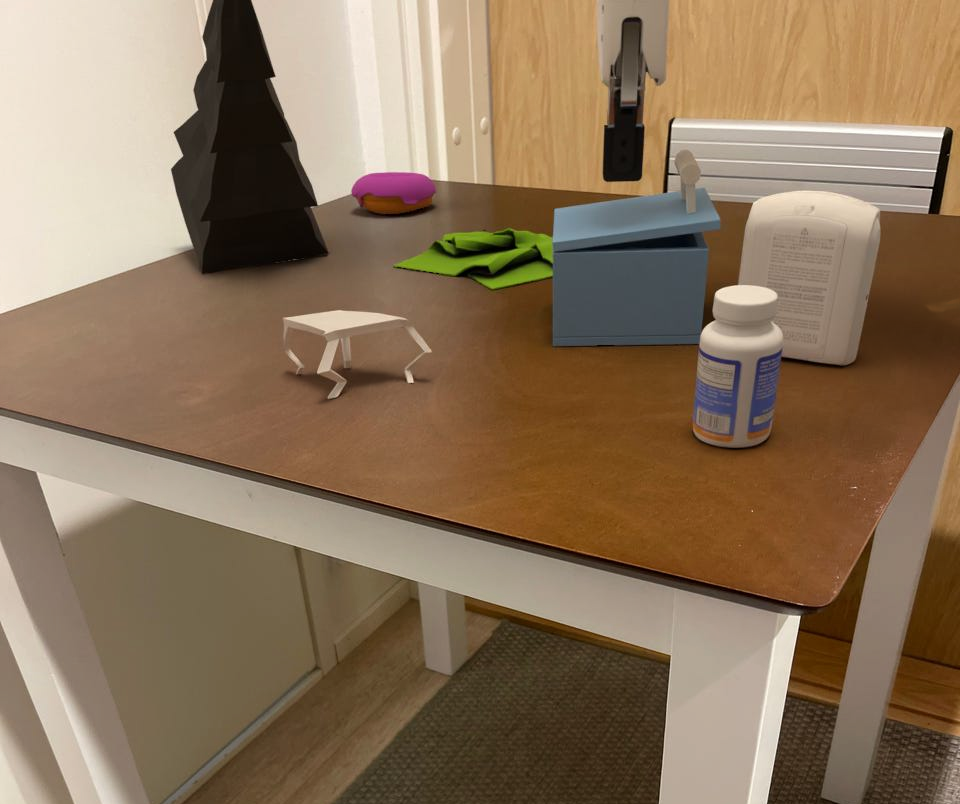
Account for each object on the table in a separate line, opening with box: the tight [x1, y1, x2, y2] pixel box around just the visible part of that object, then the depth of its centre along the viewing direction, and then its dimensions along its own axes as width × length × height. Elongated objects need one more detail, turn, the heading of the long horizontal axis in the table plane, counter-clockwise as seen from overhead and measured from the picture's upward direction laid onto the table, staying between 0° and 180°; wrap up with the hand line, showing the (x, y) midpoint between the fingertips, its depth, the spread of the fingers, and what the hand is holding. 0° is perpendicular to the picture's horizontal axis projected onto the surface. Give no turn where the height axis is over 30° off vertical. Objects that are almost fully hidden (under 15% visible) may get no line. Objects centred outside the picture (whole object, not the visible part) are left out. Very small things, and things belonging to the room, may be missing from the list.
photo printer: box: [737, 190, 882, 367], centre depth 76 cm, size 10×4×12 cm, turn 60°
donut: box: [350, 171, 437, 215], centre depth 127 cm, size 10×10×5 cm
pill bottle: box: [692, 284, 783, 449], centre depth 65 cm, size 5×5×10 cm
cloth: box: [392, 227, 553, 291], centre depth 106 cm, size 20×22×2 cm
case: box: [552, 232, 710, 347], centre depth 86 cm, size 13×12×8 cm
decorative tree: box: [170, 0, 330, 275], centre depth 99 cm, size 15×15×35 cm
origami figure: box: [282, 309, 433, 400], centre depth 78 cm, size 12×8×5 cm
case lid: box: [552, 149, 722, 252], centre depth 81 cm, size 13×12×5 cm
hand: (621, 178), depth 81 cm, fingers closed
